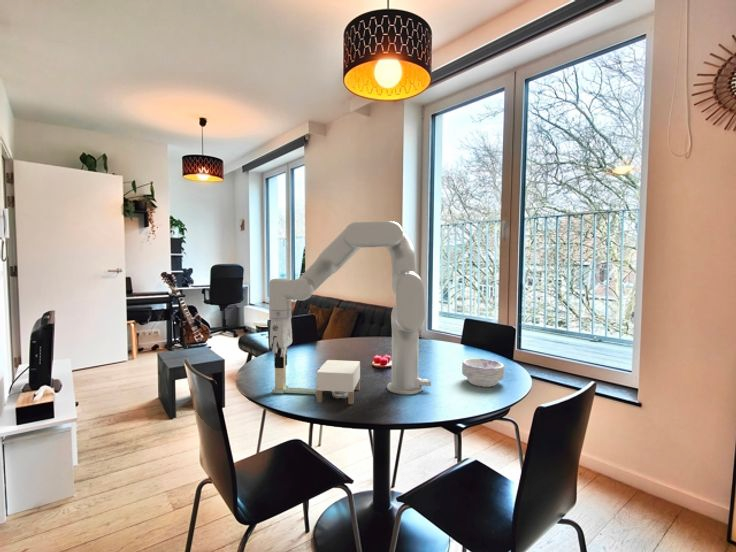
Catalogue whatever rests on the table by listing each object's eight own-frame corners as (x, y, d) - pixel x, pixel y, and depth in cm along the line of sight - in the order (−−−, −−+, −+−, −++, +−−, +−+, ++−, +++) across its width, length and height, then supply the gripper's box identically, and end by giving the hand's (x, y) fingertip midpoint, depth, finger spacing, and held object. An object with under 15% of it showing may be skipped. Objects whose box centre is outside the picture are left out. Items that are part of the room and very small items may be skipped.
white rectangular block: (359, 388, 139) (360, 361, 139) (353, 404, 124) (353, 373, 124) (327, 387, 141) (327, 359, 140) (316, 402, 126) (316, 371, 125)
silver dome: (350, 393, 135) (350, 387, 135) (347, 399, 129) (347, 393, 129) (334, 392, 136) (334, 386, 136) (330, 398, 130) (330, 392, 130)
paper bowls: (504, 379, 151) (504, 359, 151) (503, 392, 137) (504, 370, 136) (464, 375, 156) (464, 355, 156) (459, 387, 142) (460, 365, 142)
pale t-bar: (271, 393, 132) (271, 350, 131) (278, 387, 139) (278, 345, 138) (319, 396, 130) (319, 352, 129) (324, 389, 137) (324, 347, 136)
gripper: (282, 318, 126) (283, 374, 126) (298, 311, 141) (298, 361, 142) (260, 317, 127) (261, 373, 127) (278, 310, 142) (278, 360, 143)
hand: (280, 366), depth 135 cm, fingers closed on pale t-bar, 2 cm apart
